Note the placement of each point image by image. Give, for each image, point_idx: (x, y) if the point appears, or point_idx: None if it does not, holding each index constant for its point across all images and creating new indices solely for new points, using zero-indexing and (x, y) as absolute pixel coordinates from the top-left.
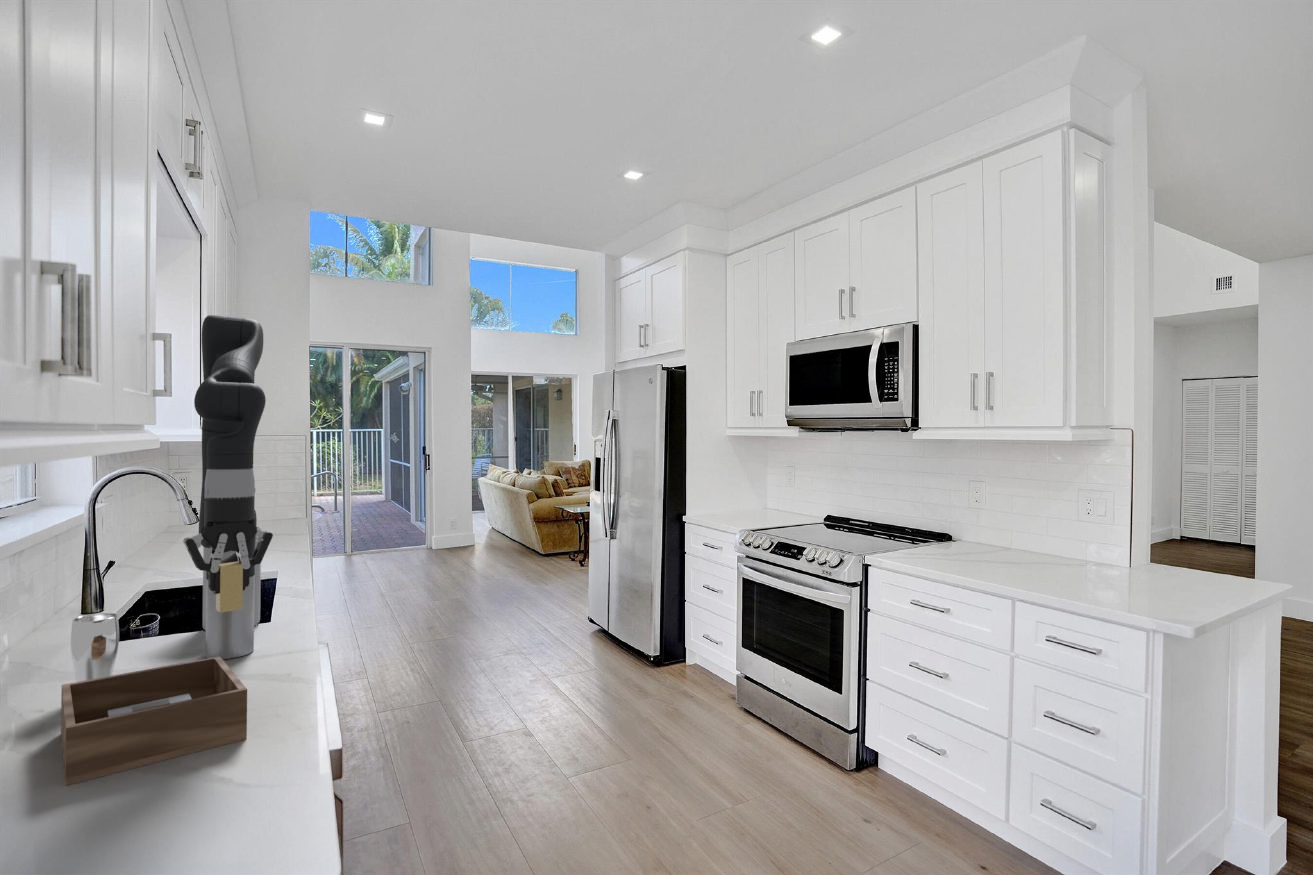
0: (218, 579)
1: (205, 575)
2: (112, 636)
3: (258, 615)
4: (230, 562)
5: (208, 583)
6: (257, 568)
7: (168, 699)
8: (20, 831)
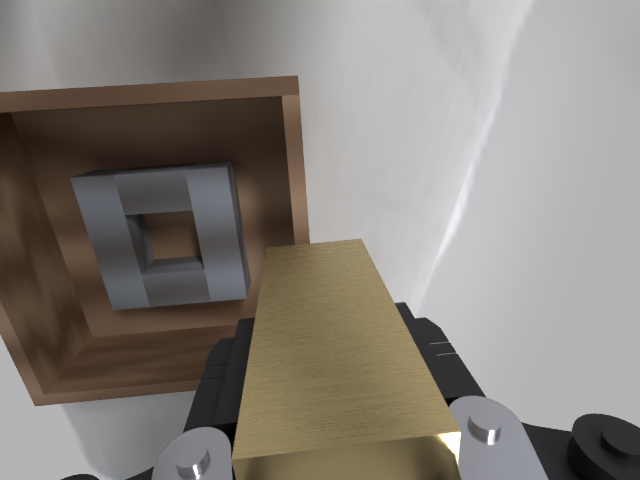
0: None
1: None
2: None
3: None
4: (379, 443)
5: (203, 373)
6: None
7: (187, 182)
8: (78, 422)
